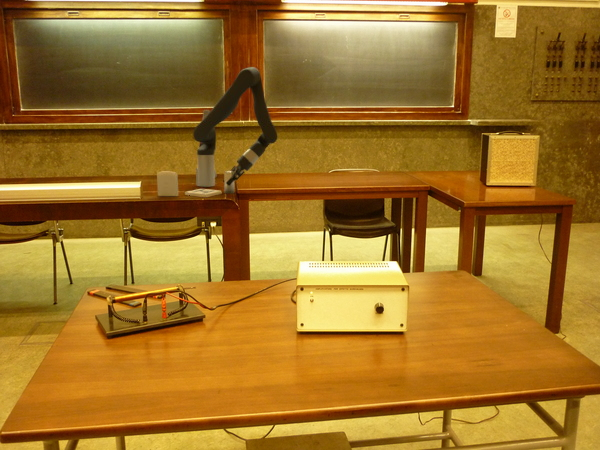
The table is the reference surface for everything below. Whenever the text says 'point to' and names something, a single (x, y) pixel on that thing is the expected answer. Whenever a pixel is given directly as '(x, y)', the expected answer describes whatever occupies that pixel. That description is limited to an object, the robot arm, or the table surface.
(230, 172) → the canister
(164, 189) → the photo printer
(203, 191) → the board
